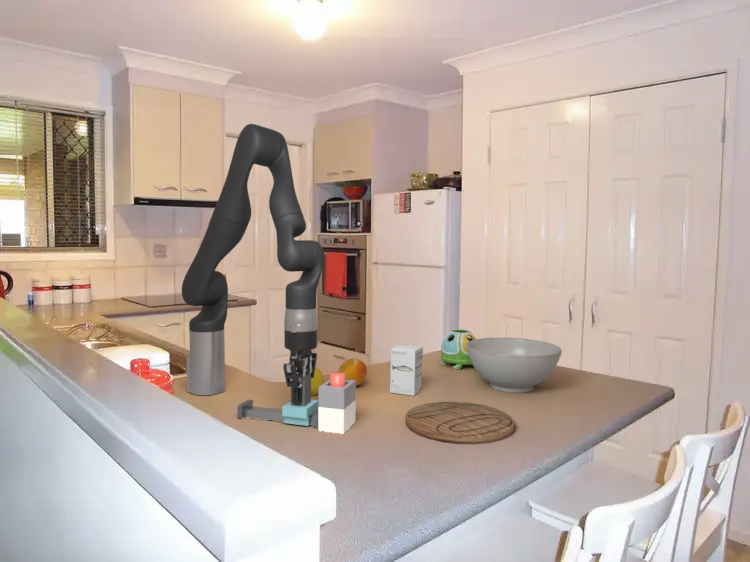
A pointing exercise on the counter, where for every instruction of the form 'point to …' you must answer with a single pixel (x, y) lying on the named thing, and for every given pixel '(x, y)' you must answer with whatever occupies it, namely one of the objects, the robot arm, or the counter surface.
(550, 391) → the counter surface
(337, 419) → the grey and white block
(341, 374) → the button
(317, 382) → the lemon
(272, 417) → the rail
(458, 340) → the turtle holder
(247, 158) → the robot arm
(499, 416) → the trivet
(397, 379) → the supplement box
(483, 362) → the decorative bowl
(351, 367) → the fruit
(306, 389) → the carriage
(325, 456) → the counter surface
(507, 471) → the counter surface
